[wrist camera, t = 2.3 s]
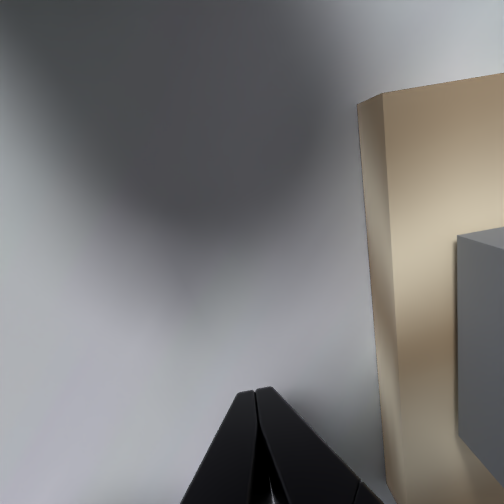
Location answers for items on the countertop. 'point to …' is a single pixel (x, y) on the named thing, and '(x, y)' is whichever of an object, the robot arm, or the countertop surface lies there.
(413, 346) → the bench
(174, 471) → the countertop surface
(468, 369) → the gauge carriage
